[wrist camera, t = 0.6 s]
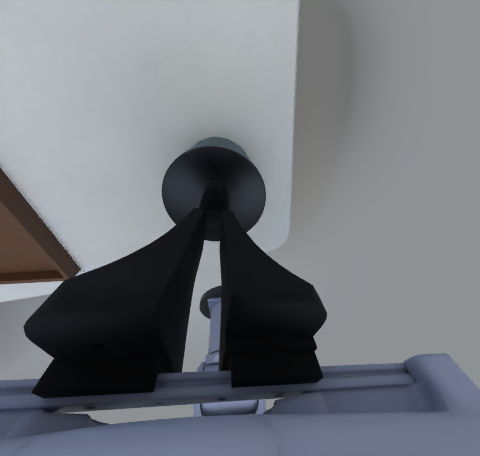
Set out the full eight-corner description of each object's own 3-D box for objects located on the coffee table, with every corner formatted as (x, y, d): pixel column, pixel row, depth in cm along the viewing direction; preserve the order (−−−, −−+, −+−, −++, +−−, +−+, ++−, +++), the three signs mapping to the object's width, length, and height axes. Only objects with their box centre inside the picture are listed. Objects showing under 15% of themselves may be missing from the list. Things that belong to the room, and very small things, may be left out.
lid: (270, 222, 16) (283, 255, 12) (191, 242, 17) (182, 279, 13) (251, 128, 12) (263, 136, 8) (145, 162, 12) (110, 184, 9)
